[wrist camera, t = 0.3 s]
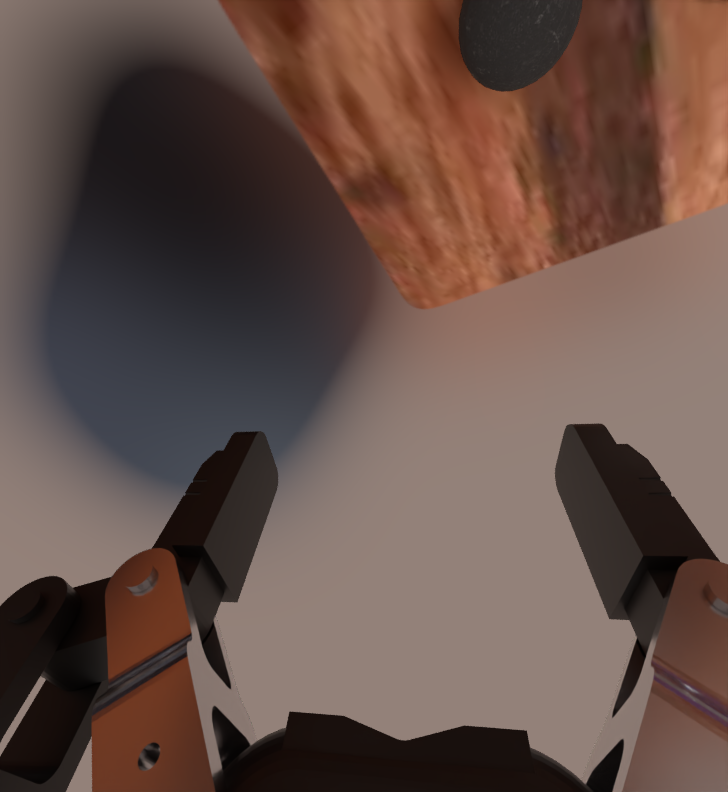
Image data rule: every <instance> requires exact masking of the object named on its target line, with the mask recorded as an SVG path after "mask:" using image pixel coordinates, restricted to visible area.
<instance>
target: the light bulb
mask: <svg viewBox="0 0 728 792" xmlns="http://www.w3.org/2000/svg"><path fill="white" fill-rule="evenodd" d="M581 9H582V0H463V3H462V9H461V13H460V18H459V44H460V50H461V54H462V57H463V60H464V62H465V64H466V66H467V68H468V70H469V71H470V73H471V74H472V76H473V77H474V78H475V79H476V80H477V81H478V82H479V83H481V84H482V85H483V86H485V87H487V88H490V89H493V90H496V91H513V90H517V89H521V88H524V87H526V86H528V85H530V84H532V83H534V82H536V81H537V80H538V79H539V78H541V77H542V76H543V75H545V74H546V73H547V72H548V71H549V70H550V69H551V68H552V67H553V66H554V65H555V63H556V62H557V61H558V60H559V59H560V57H561V56H562V54H563V52H564V51H565V49H566V48H567V46H568V44H569V42H570V40H571V38H572V36H573V34H574V31H575V29H576V26H577V24H578V20H579V16H580V12H581Z"/></svg>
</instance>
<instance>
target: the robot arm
mask: <svg viewBox="0 0 728 792" xmlns="http://www.w3.org/2000/svg"><path fill="white" fill-rule="evenodd" d="M555 479H556V486H557V489H558V492H559V495H560V497H561V500H562V502H563V504H564V507H565V510H566V512H567V515H568V517H569V520H570V522H571V524H572V527H573V529H574V532H575V535H576V537H577V540H578V542H579V545H580V547H581V549H582V552H583V554H584V557H585V559H586V562H587V564H588V566H589V569H590V572H591V574H592V577H593V579H594V582H595V584H596V587H597V589H598V591H599V594H600V596H601V599H602V601H603V604H604V607H605V609H606V612H607V614H608V617H609V619H620V620H630V622H631V624H632V627H633V629H634V631H635V633H636V635H635V637H634V639H633V641H632V644H631V647H630V650H629V653H628V656H627V659H626V662H625V665H624V668H623V671H622V674H621V677H620V680H619V683H618V686H617V689H616V692H615V695H614V698H613V701H612V704H611V707H610V710H609V713H608V716H607V718H606V721H605V723H604V726H603V728H602V730H601V733H600V735H599V736H598V739H597V741H596V743H595V745H594V748H593V750H592V752H591V755H590V757H589V760H588V763H587V766H586V769H585V772H584V775H583V777H582V780H580V779H579V778H578V777H577V776H576V775H574V774H573V773H572V772H571V771H569V770H568V769H566V768H565V767H564V766H562V765H561V764H560V763H558V762H557V761H555V760H553V759H552V758H550V757H548V756H546V755H545V754H543V753H541V752H539V751H537V750H535V749H532V748H530V745H529V740H528V735H527V731H524V730H512V729H499V728H487V727H475V726H461V727H458V728H454V729H450V730H446V731H443V732H439V733H435V734H431V735H427V736H423V737H419V738H415V739H412V740H407V741H403V740H398V739H395V738H393V737H391V736H388V735H386V734H384V733H382V732H379V731H377V730H375V729H372V728H370V727H368V726H365V725H363V724H361V723H358V722H357V721H354V720H352V719H350V718H347V717H345V716H338V715H325V714H313V713H301V712H289V717H288V721H287V726H286V728H284V729H280V730H278V731H276V732H273V733H271V734H269V735H267V736H265V737H264V738H262V739H260V740H258V741H257V738H256V735H255V732H254V729H253V726H252V723H251V721H250V718H249V716H248V713H247V711H246V709H245V707H244V705H243V703H242V701H241V698H240V696H239V693H238V690H237V686H236V683H235V679H234V676H233V673H232V669H231V666H230V662H229V659H228V655H227V652H226V648H225V645H224V641H223V638H222V634H221V631H220V627H219V624H218V620H217V618H216V616H215V615H216V613H217V610H218V607H219V605H220V602H237V601H238V599H239V596H240V593H241V590H242V587H243V584H244V582H245V579H246V576H247V573H248V570H249V567H250V565H251V562H252V559H253V556H254V553H255V550H256V548H257V545H258V542H259V539H260V536H261V533H262V531H263V528H264V525H265V522H266V519H267V516H268V514H269V511H270V508H271V505H272V502H273V499H274V496H275V493H276V491H277V486H278V472H277V467H276V465H275V462H274V459H273V456H272V453H271V450H270V447H269V444H268V441H267V439H266V436H265V434H264V433H263V432H261V431H255V432H235V433H234V434H233V435H232V436H231V438H230V440H229V442H228V443H227V445H226V447H225V449H224V451H216V452H215V453H214V454H213V455H212V456H211V457H210V458H208V459H207V461H205V462H204V463H203V464H202V465H201V467H200V469H199V471H198V472H197V474H196V476H195V477H194V479H193V483H191V484H190V486H189V487H188V489H187V491H186V492H185V493H186V495H185V496H183V497H182V499H181V501H180V502H179V504H178V506H177V508H176V509H175V511H174V512H173V514H172V516H171V518H170V519H169V521H168V523H167V524H166V526H165V528H164V529H163V531H162V533H161V534H160V536H159V538H158V539H157V541H156V543H155V544H154V546H153V547H152V549H148V550H145V551H142V552H140V553H138V554H136V555H134V556H133V557H131V558H130V559H128V560H127V561H126V562H125V563H124V564H122V565H121V566H120V567H119V568H118V569H117V570H116V572H115V573H114V575H113V576H112V577H109V578H106V579H102V580H99V581H95V582H92V583H88V584H85V585H81V586H78V587H74V588H72V587H71V586H70V585H69V584H68V583H67V582H66V581H65V580H64V579H62V578H60V577H57V576H49V577H44V578H40V579H38V580H35V581H33V582H31V583H29V584H27V585H25V586H24V587H22V588H20V589H19V590H18V591H16V592H15V593H14V594H13V595H11V596H10V597H9V598H8V599H7V600H6V601H5V602H4V603H3V604H2V605H1V606H0V742H1V740H2V738H3V736H4V735H5V733H6V731H7V730H8V728H9V726H10V725H11V723H12V721H13V720H14V718H15V717H16V715H17V713H18V712H19V710H20V708H21V707H22V705H23V703H24V702H25V700H26V699H27V697H28V695H29V694H30V692H31V690H32V689H33V687H34V685H35V684H36V682H37V680H38V679H39V677H40V676H42V677H43V678H45V679H46V681H45V682H44V684H43V686H42V687H41V689H40V691H39V693H38V694H37V696H36V698H35V699H34V701H33V702H32V704H31V706H30V707H29V709H28V711H27V712H26V714H25V716H24V717H23V719H22V721H21V723H20V724H19V726H18V728H17V729H16V731H15V733H14V734H13V736H12V738H11V739H10V741H9V743H8V744H7V746H6V748H5V749H4V751H3V753H2V754H1V756H0V792H66V790H67V788H68V786H69V783H70V781H71V779H72V777H73V775H74V773H75V771H76V768H77V766H78V764H79V762H80V760H81V758H82V756H83V753H84V751H85V749H86V747H87V745H88V743H89V741H90V739H91V736H92V792H728V564H725V563H722V562H720V561H719V559H718V558H717V557H716V556H715V554H714V553H713V551H712V550H711V549H710V547H709V546H708V544H707V543H706V542H705V540H704V539H703V537H702V536H701V534H700V533H699V532H698V530H697V529H696V527H695V526H694V524H693V523H692V522H691V520H690V519H689V517H688V516H687V514H686V513H685V512H684V510H683V509H682V507H681V506H680V504H679V503H678V502H677V500H676V499H675V497H672V496H671V492H670V490H669V489H668V487H667V486H666V485H665V483H664V482H663V481H661V480H660V476H659V475H658V473H657V472H656V470H655V469H654V467H653V466H652V465H651V463H650V462H649V460H648V459H647V458H645V457H644V456H643V455H641V454H640V453H638V452H637V451H636V450H635V449H633V448H632V447H631V446H629V445H628V444H616V442H615V441H614V439H613V437H612V436H611V434H610V433H609V431H608V430H607V428H606V427H605V426H604V425H603V424H570V425H567V426H566V429H565V431H564V436H563V439H562V443H561V447H560V451H559V455H558V459H557V463H556V468H555Z"/></svg>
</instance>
